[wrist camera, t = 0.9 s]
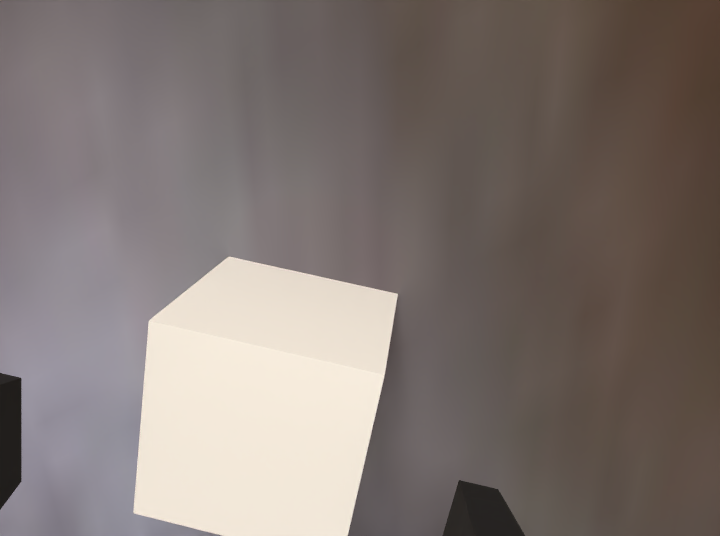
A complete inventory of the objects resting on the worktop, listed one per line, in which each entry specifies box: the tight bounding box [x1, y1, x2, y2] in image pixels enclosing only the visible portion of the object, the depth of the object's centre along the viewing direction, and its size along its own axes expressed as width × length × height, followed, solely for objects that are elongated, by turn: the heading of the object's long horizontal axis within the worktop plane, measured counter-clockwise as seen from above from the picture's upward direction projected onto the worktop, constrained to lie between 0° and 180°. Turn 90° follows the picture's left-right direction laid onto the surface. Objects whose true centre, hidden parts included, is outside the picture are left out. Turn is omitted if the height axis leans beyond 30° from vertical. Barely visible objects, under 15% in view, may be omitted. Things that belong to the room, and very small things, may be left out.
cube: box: [134, 257, 398, 536], centre depth 12 cm, size 4×4×4 cm
